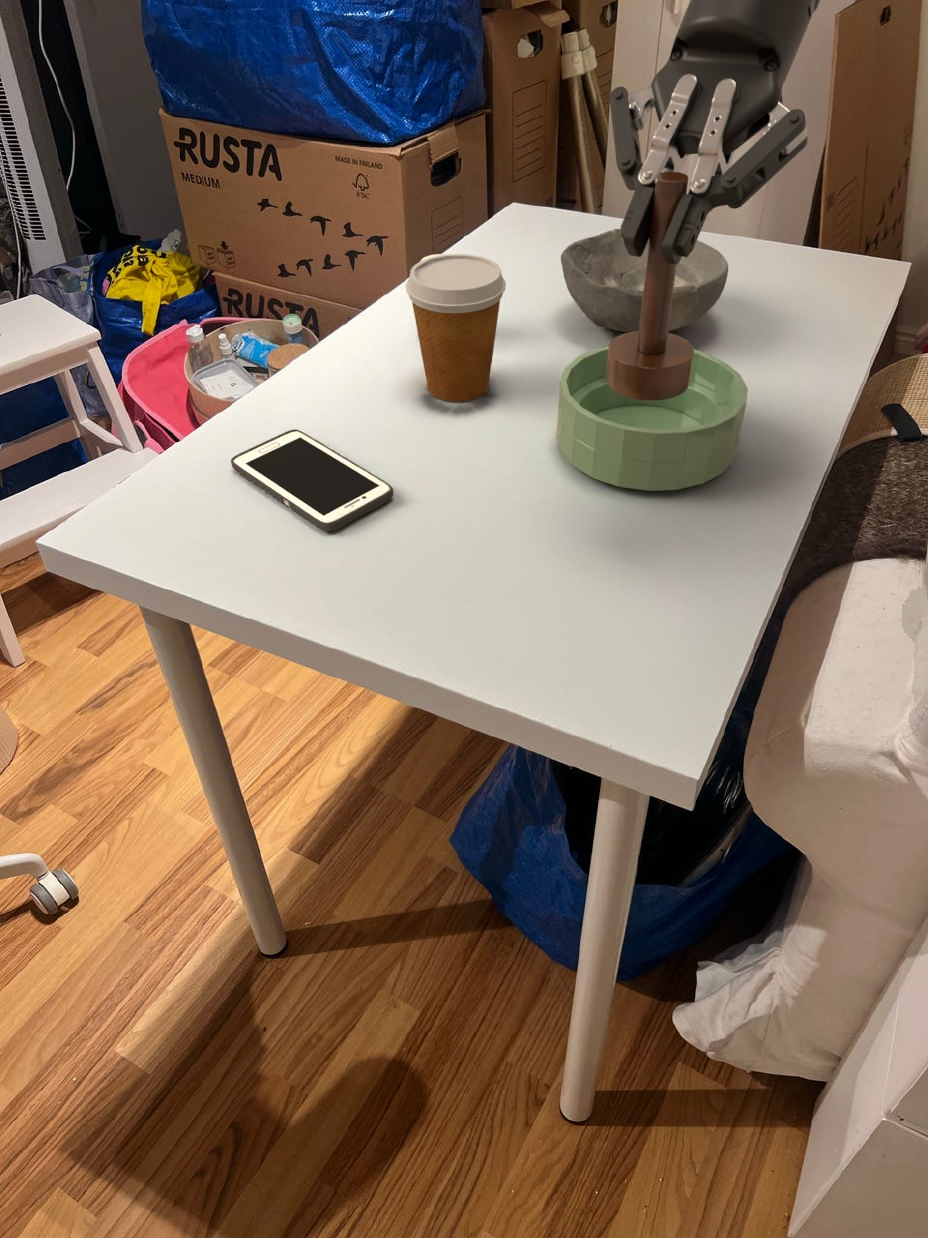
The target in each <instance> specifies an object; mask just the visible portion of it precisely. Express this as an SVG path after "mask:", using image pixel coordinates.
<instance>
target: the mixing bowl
mask: <svg viewBox="0 0 928 1238" xmlns="http://www.w3.org/2000/svg"><path fill="white" fill-rule="evenodd" d="M608 350H609V345H608V346H603V347H599V348H596V349H594V350H591V351H589V352H586V353H583V354H581V355H578V357H576V358H575V359H574V360H573V361H572V362H570V363H569V364H568V365H567V366H566V367H564V370H563V372H562V374H561V377H560V379H559V387H558V388H559V391H558V406H557V407H558V408H557V409H558V410H557V424H556V439H557V445H558V448H559V451H560V453H561V454H562V455H563V456H564V458H565V459H566V460H567V461H568V463H569V464H570V465H571V466H573V468H576V469H577V470H579V471H580V472H582V473H584V474H585V475H587V476H589V477H590V478H592V479H594V480H597V481H599V482H603V483H607V484H609V485H612V486H615V487H620V488H625V489H631V490H637V491H647V492H648V491H649V492H654V491H678V490H682V489H686V488H691V487H696V486H698V485H703V484H706V483H708V482H709V481H711V480H713V479H714V478H717V477H718V476H720V475H722V474H723V473H725V472H726V470H727V469H728V467H730V465H731V464H732V463H733V461H734V460H735V459H736V453H737V449H738V444H739V440H740V435H741V431H742V425H743V422H744V416H745V411H746V407H747V401H748V391H749V388H748V386H747V384H746V383H745V380H744V379H743V377H742V375H741V374H740V372H738V371H737V370H735V369H734V368H733V367H732V366H731V365H729V364H728V363H726V362H725V361H724V360H722V359H720V358H717V357H715V356H712V355H710V354H708V353H706V352H704V351H700V350H697V349H694V357H693V364H692V370H691V376H690V383H689V386H688V388H687V390H686V391H685V392H683V393H682V394H680V395H678V396H676V397H674V398H670V399H665V400H656V401H647V400H638V399H633V398H629V397H626V396H623V395H621V394H619V393H617V392H615V391H614V390H612V389H611V388H610V387H609V385H608V384H607V381H606V373H607V362H608Z"/></svg>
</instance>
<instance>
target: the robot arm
mask: <svg viewBox="0 0 928 1238" xmlns="http://www.w3.org/2000/svg"><path fill="white" fill-rule="evenodd" d="M820 2H821V0H689V2H688V6H687V8H686V9H685V12H684V15H683V17H682V20H681V21H680V25H679V27H678V30H677V32H676V34H675V36H674V40H673V43H672V47H671V49H670V54H669V57H668V60H667V61H666V63H665V64H664V66H663V67H662V68H660V70H659V71H658V72H657V73H656V74H655V75H654V77H653V78H652V81H651V85H649V86H646V87H643V88H640V89H637V90H635V91H633V92H629V91H628V89H627V88H626V87H624V86H618V87H615V88H614V89H613V90H612V91H611V92H610V94H609V105H610V115H611V124H612V134H613V143H614V152H615V161H616V167H617V169H618V172H619V173H620V175H621V177H622V180H623V182H624V184H625V186H626V189H628V190H630V191H634V192H633V196H632V198H631V201H630V203H629V205H628V208H627V210H626V212H625V215H624V218H623V221H622V223H621V225H620V229H621V236H622V238H623V240H624V245H625V247H626V249H627V251H628V253H629V255H632V256H637V257H641V256H642V254H643V252H644V250H645V247H646V245H647V242H648V240H649V236H650V227H651V218H652V209H653V200H654V191H655V182H656V176H657V175H658V174H660V173H663V172H680V173H681V171H682V169H683V167H684V165H685V163H686V161H687V160H688V157H689V155H697V161H696V163H695V166H694V170H693V173H692V176H691V180H690V182H689V191H688V193H686V194H684V193H683V194H682V196H681V199H680V201H679V204H678V206H677V209H676V211H675V214H674V216H673V219H672V221H671V223H670V226H669V228H668V231H667V233H666V236H665V238H664V241H663V243H662V248H661V252H662V255H663V257H664V259H665V261H666V263H670V264H675V265H677V264H678V263H679V262H680V259H681V257H687V256H688V255H689V254H690V253H691V252H692V251H693V249H694V246H695V244H696V241H697V240H698V238H699V236H700V235H701V234H700V233H701V231H702V229H703V227H704V224H705V221H706V219H707V217H708V215H709V213H711V212H712V211H713V210H714V209H715V208H718V207H725V206H727V207H728V208H729V209H733V210H736V209H740V208H741V207H743V206H744V205H745V204H746V203H747V201H749V200H750V199H751V198H752V197H753V196H754V195H755V194H756V193H758V191H759V190H761V189H762V188H763V187H765V185H766V184H767V183H768V182H769V181H770V180H772V179H773V177H775V176H776V175H777V174H778V173H779V172H780V171H781V170H782V169H784V167H786V165H787V164H789V162H791V161H792V160H793V159H794V158H795V157H796V156H797V155H798V154H799V153H800V152H801V151H803V150H804V149H805V147H806V146H807V145H808V141H809V139H808V126H807V120H806V114H805V112H804V111H803V110H802V109H799V108H794V109H790V108H788V107H787V106H786V105H785V104H784V102H783V94H782V93H783V86H784V84H785V83H786V80H787V78H788V76H789V73H790V70H791V68H792V66H793V64H794V61H795V58H796V56H797V54H798V51H799V48H800V46H801V44H802V41H803V39H804V36H805V34H806V32H807V29H808V27H809V24H810V21H811V19H812V17H813V14H814V13H815V12H816V11H817V10H818V7H819V5H820ZM652 109H655V113H656V116H657V120H658V125H657V127H656V128H655V129H656V130H655V131H654V133H653V135H652V138H651V143H650V150H649V152H648V153H647V156H646V158H645V160H644V162H642V160H643V159H642V153H641V143H640V135H639V131H642V130H643V129H645V125H646V123H647V122H648V115H649V113H650V111H651V110H652ZM762 130H763V131H762ZM761 131H762V134H763V136H761V137H760V138H759V139H758V141H756V142H755V143H754V144H753V145H752V146H751V147H749V149H748V150H747V151H745V153H744V154H742V155H741V156H740V157H739V158H738V159H737V160H736V161H735V162H734V163H733V164H732V161H733V159H734V156H735V152H736V150H738V149H739V148H740V147H742V146H743V145H744V144H746V143H747V142H748V141H749V140H750V139H752V138H753V137H754V136H755V135H757V134H758V133H759V132H761ZM731 164H732V165H731Z"/></svg>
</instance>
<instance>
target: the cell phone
mask: <svg viewBox="0 0 928 1238" xmlns="http://www.w3.org/2000/svg"><path fill="white" fill-rule="evenodd" d="M230 463H231V464H230V465H231V468H232V469H233V470H234V471H235V472H237V473H238V474H240V475H241V476H242V477H244V478H245V479H247V480H248V481H250V482H252V483H253V484H255V485H256V486H257V487H259V488H260V489H262V490H263V491H265V492H266V493H267V494H269V495H270V496H272V497H273V498H275V499H277V500H278V501H279V502H281V503H283V504H284V505H286V506H287V507H289V508H290V510H292V511H293V512H295V513H296V514H297V515H299V516H301V517H303V518H304V519H305V520H307V521H308V522H310V523H311V524H313V525H314V526H316V527H317V528H318V529H320V530H323V531H325V532H333V531H336V530H339V529H341V528H342V527H344V526H345V525H347V524H349V523H352V522H353V521H355V520H356V519H358V518H360V517H362V516H364V515H365V514H367V513H369V512H371V511H373V510H375V509H377V508H378V507H380V506H382V505H384V504H385V503H387V502H389V501H390V500H392V498H393V497H394V488H393V487H392V485H390V484H389V483H388V482H386V481H385V480H383V478H380V477H378V476H377V475H375V474H374V473H372V472H370V471H369V470H367V469H366V468H364V467H362V466H361V465H358V464H357V463H355V462H354V461H352V460H350V459H348V458H347V457H345V456H344V455H342V454H340V453H339V452H337V451H335V450H334V449H332V448H330V447H328V446H327V445H325V444H324V443H322V442H320V441H319V440H317V439H315V438H314V437H312V436H310V435H309V434H307V433H306V432H303V431H301V430H299V429H294V428H293V429H290V430H287V431H285V432H282V433H281V434H278V435H276V436H274V437H272V438H270V439H268V440H265V441H263V442H261V443H259V444H257V445H255V446H252V447H250V448H248V449H246V450H243V451H242V452H239V453H238V454H235V455H234V456H233V457H232V458H231V459H230Z"/></svg>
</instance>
